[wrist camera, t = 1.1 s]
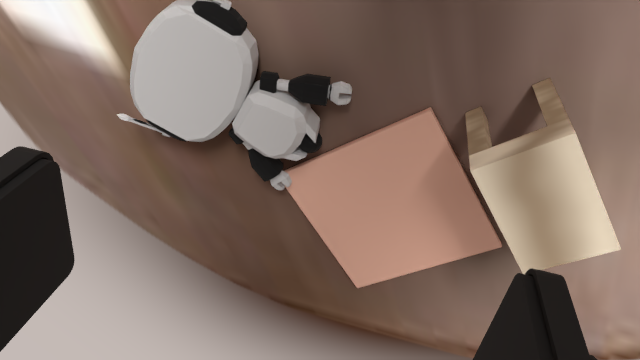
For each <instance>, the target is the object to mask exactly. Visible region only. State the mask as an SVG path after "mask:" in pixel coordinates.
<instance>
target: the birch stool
mask: <svg viewBox="0 0 640 360" xmlns="http://www.w3.org/2000/svg"><path fill="white" fill-rule="evenodd" d="M532 87H533V89H534V92H535V95H536V97H537V100H538V103H539V105H540V108H541V111H542V113H543V116H544V119H545V121H546V124H547V127H544V128H542V129H539V130H536V131H534V132H531V133H528V134H526V135H523V136H520V137H518V138H515V139H512V140H510V141H507V142H504V143H502V144H499V145H496V146H494V147H492V144H491V138H490V132H489V126H488V120H487V118H486V116H485V113H484V111H483V109H482V107H481V106H480V107H478V108H476V109H473V110H471V111H468V112H466V113H465V117H466V128H467V140H468V151H469V163H470V171H471V173H472V175H473V177H474V179H475V181H476V183H477V185H478V187H479V189H480V191H481V193H482V195H483V197H484V199H485V201H486V203H487V205H488V207H489V209H490V210H491V212H492V214H493V216H494V218H495V220H496V222H497V224H498V226H499V228H500V230H501V232H502V234H503V236H504V238H505V240H506V242H507V244H508V246H509V248H510V249H511V251H512V253H513V255H514V257H515V259H516V261H517V263H518V265H519V267H520V269H521V271H522V273H523V274H525V273H526V272H527V271H528V270H529V269H532V268H533V269H537V270H543V269H547V268H551V267H555V266H558V265H562V264H566V263H570V262H574V261H578V260H582V259H586V258H590V257H594V256H598V255H601V254H605V253H609V252H613V251H617V250H621V248H620V245H619V243H618V240H617V237H616V235H615V232H614V230H613V227H612V225H611V222H610V220H609V217H608V214H607V212H606V209H605V207H604V204H603V202H602V199H601V197H600V194H599V191H598V189H597V186H596V184H595V181H594V179H593V176H592V174H591V171H590V168H589V166H588V163H587V161H586V158H585V156H584V153H583V151H582V148H581V145H580V143H579V140H578V138H577V135H576V133H575V131H574V128H573V126H572V124H571V122H570V120H569V118H568V116H567V113H566V111H565V109H564V107H563V105H562V103H561V100H560V98H559V96H558V94H557V92H556V90H555V88H554V85H553V83H552V81H551V79H550V78H548V79H546V80H543V81H541V82H538V83H536V84H534V85H532Z"/></svg>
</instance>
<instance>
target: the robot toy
mask: <svg viewBox="0 0 640 360" xmlns="http://www.w3.org/2000/svg"><path fill="white" fill-rule="evenodd" d="M246 27H247V22H246V21H245V20H244V19H243V18H242V17H241V15H240V14H239V13H238V12H237V11H236V10H235V9H233V8H232V7H231V2H230V1H228V0H177V1H175V2H173V3H171V4H170V5H169V6H168V7H167V8H165V9H164V10H163V11H162V12H160V13H159V14H158V15H157V16H156V17H155V18H154V19H153V21H152V22H151V23H150V24H149V25H148V27H147V28H146V30H145V32H144V33H143V35H142V37H141V38H140V40H139V42H138V43H137V45H136V47H135V48H134V54H133V60H132V66H131V73H130V90H131V95H132V98H133V101H134V104H135V106H136V108H137V109H138V110H139V112H140V113H141V114H142V116H143V117H144V118H145V119H146V120H147V121H148V123H149V124H148V123H145V122H143V121H140V120H137V119H134V118H131V117H129V116H128V115H125V114H117V116H118V117H119V118H120V119H122V120H125V121H130V122H133V123H136V124H138V125H141V126H144V127H147V128H150V129H153V130H156V131H158V132H161V133H162V135H164V136H167V137H170V136H171V137H173V138H176V139H178V140H181V141H195V142H203V141H206V140H209V139H212V138H214V137H215V136H217V135H218V134H220V133H221V132H222V131H223V130H224V129H225V128H226V127H227V126H228V125H229V124H230V123H231V121H232V120H233V119H234V118H235V119H234V121H233V123H232V126H233V127H232V128H231V130H230V131H229V134H228V135H229V136H230V137H231V138H232V139H233V140H234V142H235V143H236V144H241V143H243V144H244V146H245V147H246V148H247V149H248V151H249V157H250V162H251V166H252V168H253V169H254V170H255V171H256V172H257V173H258V175H259V176H260V177H261V178H262V179H263V180H264V181H268V180H270V182H271V185H272V186H273V187H274V188H275V189H277V190H283V189H284V187H285V186H286V187H289V186H290V185H291V183H292V180H291V178H290V176H289V174H288V173H287V172H285V171H283V170H282V169H283V163H282V161H281V160H280V159H279V158H285V159H290V160H294V161H298V160H300V159H302V158H305V157H306V155H307V153H313V152H316V151H317V150H318V149H319V148H320V147H321V145H322V137H321V135H320V134H319V133H318V132H319V128H320V118H319V117H318V115H317V114H316V113H315V112H314V111H313V110H312V109H311V106H310V104H316V105H323V106H326V104H327V100H328V99H329V100H331V101H332V102H334V103H335V104H337V105H346V104H348V103H349V102H350V100H351V95H345V94H340V93H346V94H351V93H352V87H351V86H350V84H348V83H345V82H342V81H340V82H336V83H333V84H330V78H331V77H326V76H319V75H312V74H306V75H303V76H300V77H297V78H294V79H292V80H285V79H279V75H278V73H274V72H267V71H263V72H262V74H261V77H260V80H259V81H256V82H255V83H254V85H253V87H252V84H253V81H254V79H255V76H256V71H257V66H258V56H259V54H258V48H257V42H256V39H255V38H254V37H253V35H252V34H251V33H250V32H249V30H248V29H247V28H246ZM251 87H252V89H251ZM236 115H237V116H236Z"/></svg>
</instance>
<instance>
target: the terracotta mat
mask: <svg viewBox="0 0 640 360" xmlns="http://www.w3.org/2000/svg"><path fill="white" fill-rule="evenodd" d="M285 172H287V173H288V174H289V176H290V178H291V180H292V183H291V185H290V186H289V187H286V186H285V187H286V189H287V190H288V192H289V193H290V194H291V196H292V197H293V199H294V200H295V201H296V203H297V204H298V206H299V207H300V208H301V210H302V211H303V213H304V214H305V215H306V217H307V218H308V220H309V221H310V223H311V224H312V225H313V227H314V228H315V230H316V231H317V232H318V234H319V235H320V237H321V238H322V239H323V241H324V242H325V244H326V245H327V246H328V248H329V249H330V251H331V252H332V254H333V255H334V256H335V258H336V259H337V261H338V262H339V263H340V265H341V266H342V268H343V269H344V270H345V272H346V273H347V275H348V276H349V277H350V279H351V280H352V282H353V283H354V285H355V286H356V287H357V288H360V287H363V286H367V285H370V284H374V283H377V282H381V281H384V280H388V279H391V278H395V277H399V276H402V275H406V274H409V273H413V272H416V271H420V270H423V269H427V268H430V267H434V266H437V265H441V264H444V263H448V262H451V261H455V260H458V259H462V258H465V257H469V256H472V255H476V254H479V253H483V252H486V251H490V250H493V249H497V248H500V247H502V243H501V241H500V239H499V237H498V235H497V233H496V232H495V230H494V228H493V226H492V224H491V222H490V220H489V218H488V216H487V214H486V212H485V210H484V208H483V206H482V205H481V203H480V201H479V199H478V197H477V195H476V193H475V191H474V189H473V187H472V185H471V183H470V181H469V179H468V178H467V176H466V174H465V172H464V170H463V168H462V166H461V164H460V162H459V160H458V158H457V156H456V154H455V152H454V151H453V149H452V147H451V145H450V143H449V141H448V139H447V137H446V135H445V133H444V131H443V129H442V127H441V125H440V124H439V122H438V120H437V118H436V116H435V114H434V112H433V110H432V108H431V107H430V108H428V109H425V110H423V111H421V112H418V113H416V114H414V115H411V116H409V117H407V118H405V119H402V120H400V121H398V122H395V123H393V124H391V125H388V126H386V127H384V128H381V129H379V130H377V131H375V132H372V133H370V134H368V135H365V136H363V137H361V138H358V139H356V140H354V141H351V142H349V143H347V144H345V145H342V146H340V147H338V148H335V149H333V150H331V151H328V152H326V153H324V154H321V155H319V156H317V157H315V158H312V159H310V160H308V161H305V162H303V163H301V164H298V165H296V166H294V167H291V168H289V169H287V170H285Z"/></svg>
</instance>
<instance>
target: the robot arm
mask: <svg viewBox="0 0 640 360" xmlns="http://www.w3.org/2000/svg"><path fill="white" fill-rule="evenodd" d="M73 265H74V253H73V247H72V241H71V235H70V228H69V223H68V216H67V210H66V204H65V198H64V192H63V186H62V179H61V173H60V168H59V165H58V164H57V163H56V162H54V160H53V157H52V156H51V155H50V154H49V153H47V152H43V151H39V150H35V149H30V148H26V147H16V148H14V149H12V150H10V151H9V152H7V153H6V154H4V155H3V156H2V157H0V351H1V350H2V349H3V348H4V347H5V346H6V345H7V343H9V341H10V340H11V339H12V338H13V337H14V336H15V334H17V332H18V331H19V330H20V329H21V328H22V327H23V326H24V325H25V324H26V322H27V321H28V320H29V319H30V318H31V317H32V316H33V314H34V313H35V312H36V311H37V310H38V309H39V308H40V307H41V306H42V305H43V303H44V302H45V301H46V300H47V299H48V298H49V297H50V296H51V294H52V293H53V292H54V291H55V290H56V289H57V288H58V286H59V285H60V284H61V283H62V282H63V281H64V280H65V279H66V278H67V277H68V275H69V274H70V272H71V270H72V268H73ZM473 360H597V359H596V358H595V357H594V356H592V355H589V352H588V349H587V346H586V343H585V340H584V337H583V334H582V331H581V328H580V325H579V321H578V318H577V315H576V312H575V309H574V306H573V303H572V300H571V297H570V294H569V290H568V287H567V284H566V281H565V279H564V277H563V276H561V275H558V274H554V273H550V272H545V271H541V270H537V269H533V268H532V269H529V270H528V271H527V272H526V273H525V274H521V273H518V274H516V275H515V277H514V279H513V281H512V283H511V285H510V287H509V289H508V291H507V293H506V295H505V297H504V299H503V301H502V303H501V305H500V307H499V309H498V311H497V313H496V315H495V317H494V319H493V321H492V322H491V324H490V326H489V328H488V330H487V332H486V334H485V336H484V338H483V340H482V342H481V344H480V346H479V348H478V350H477V352H476V354H475V356H474V358H473Z"/></svg>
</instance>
